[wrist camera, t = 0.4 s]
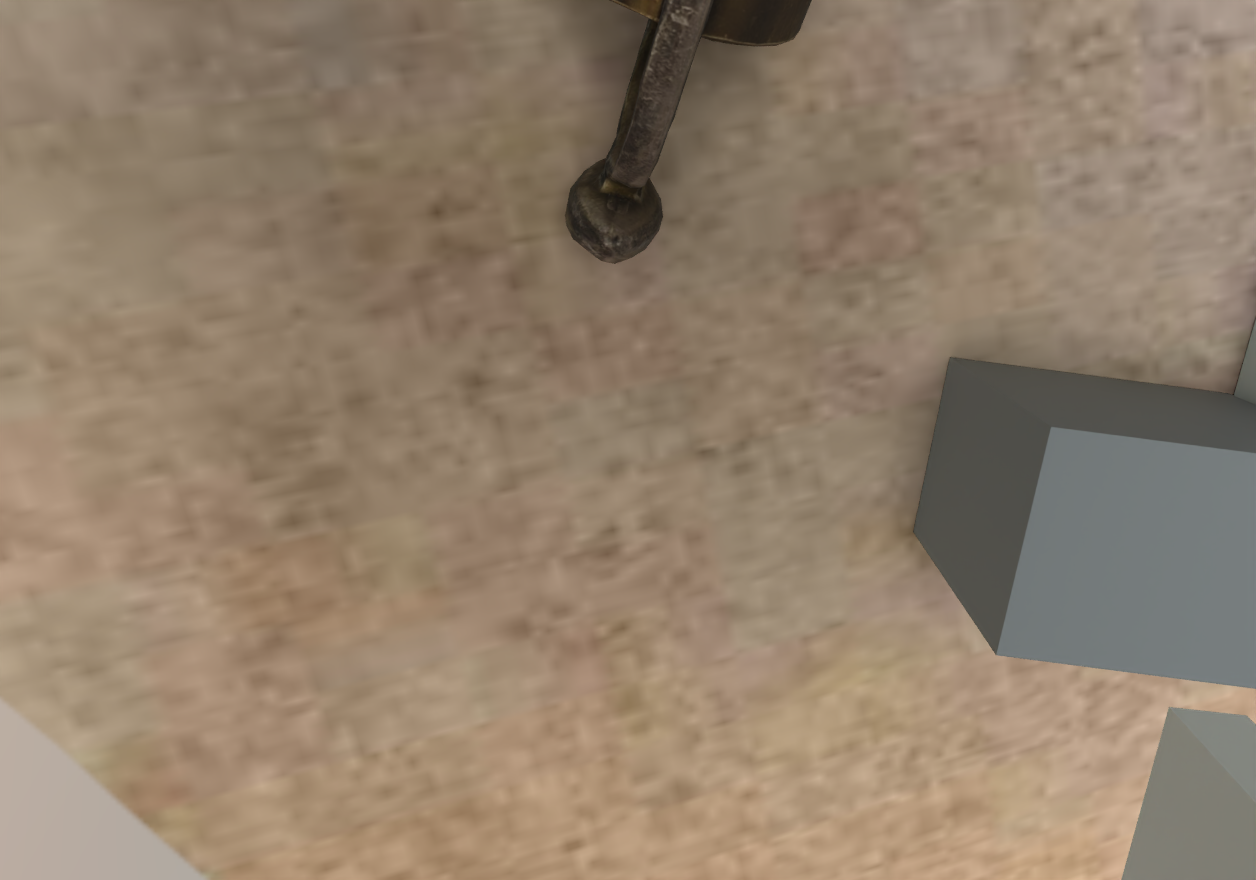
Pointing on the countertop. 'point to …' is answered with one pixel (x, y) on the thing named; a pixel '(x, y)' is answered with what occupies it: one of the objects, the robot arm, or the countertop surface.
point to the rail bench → (1099, 518)
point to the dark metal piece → (661, 113)
